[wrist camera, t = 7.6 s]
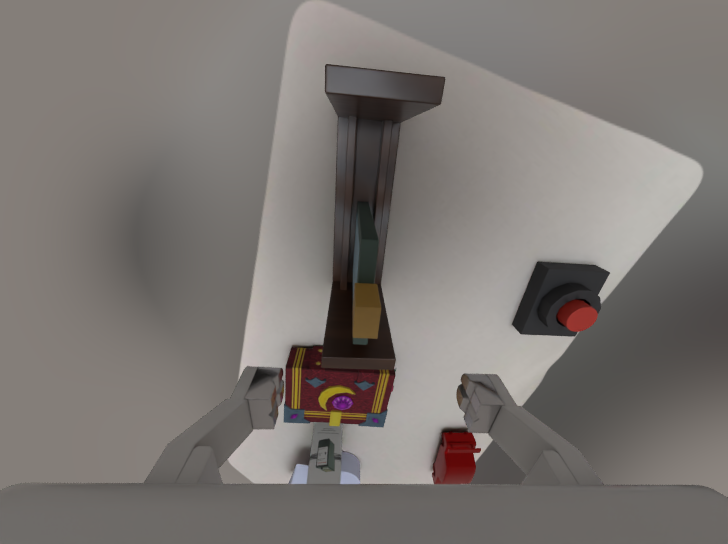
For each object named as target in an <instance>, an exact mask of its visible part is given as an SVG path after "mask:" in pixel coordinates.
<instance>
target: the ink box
mask: <svg viewBox="0 0 728 544" xmlns="http://www.w3.org/2000/svg"><path fill="white" fill-rule="evenodd" d="M342 424H343V423H340V426H329V423H324V422H314V430H313V437H312V445H311V452H310V460H309V467H308V475H307V483H306V484H340V481H341V457H342Z"/></svg>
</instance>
